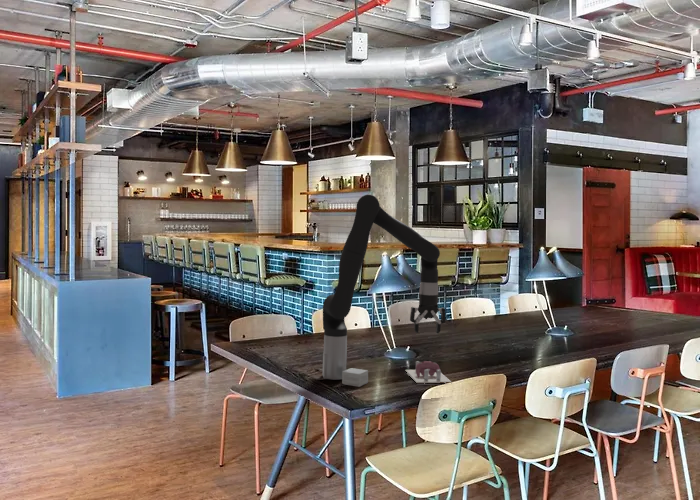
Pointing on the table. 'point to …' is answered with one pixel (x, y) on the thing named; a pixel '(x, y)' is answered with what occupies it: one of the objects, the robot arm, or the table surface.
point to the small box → (355, 377)
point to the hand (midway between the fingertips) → (427, 332)
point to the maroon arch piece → (426, 365)
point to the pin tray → (430, 378)
